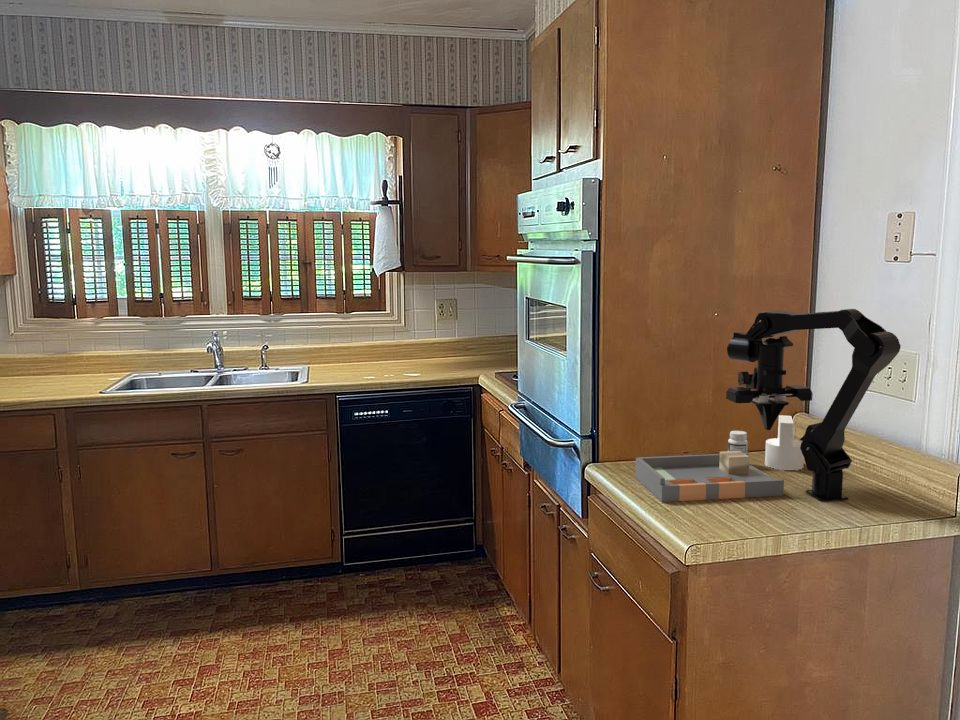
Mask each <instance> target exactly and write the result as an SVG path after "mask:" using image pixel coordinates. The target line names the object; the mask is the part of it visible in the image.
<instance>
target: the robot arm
mask: <svg viewBox="0 0 960 720" xmlns="http://www.w3.org/2000/svg"><path fill="white" fill-rule="evenodd" d="M819 329H822V330H823V329H839V330H840V331H841V332H842V334H843V335H844V338H845V340H846V341H847V343H849V345H851V346H852V347H853V351H852V355H851V369H850V370H849V373H848V374H847V376H846V378H845V380H843V381H844V382H843V383H842V385H841V387H840V389H839V390H838V392H837V394H836V396H835V397H834V400H833V401H832V403H831V405H830V407H829V409H828V411H827V413H826V414H825V416H824V418H823V419H822V421H821V422H818V423H814V424H813V423H812V424H809V425H808V426H807V427H806V429H805V432H804V434H803V436H802V437H800V438H799V441H801V442H802V443H801V445H800V450H801V451H802V454H803V456H804V462H805V467H806V470H807V471H810V472H812V480H811V481H812V483H811V489H805V493H807V494H808V495H810V496H812V497H813V498H815V499H817V500H818V501H821V502H828V501H845V500H849V497H848V496H847V495H845V494H843V482H844V472H843V470H844V469H847V470H848V469H849V468H850V466H851V464H852V462H853V460H852V458H851V457H850V456H849V454H848V453H847V452H846V450H845V449H844V448H843V446H844V444H845V441H846V440H845V439H846V438H845V430H846V427H847V426H848V425H849V422H850V421H851V419H852V417H853V415H854V414H855V413H856V412H855V411H856V410H857V409H858V408H859V405H860V403H861V402H862V400H863V397H864V396H865V395H866V392H868V390H869V387H870V386H871V384H872V382H873V380H874V379H875V377H876V376H877V375H878V374H880V372H882V371H883V370H884V369H885V368H886V367H887V366H888V365H889V364H890V363H892V361H893V360H894V359H895V358H896V357H897V355H898V354H899V353H900V350H901V346H902V345H901V344H900V340H899V338H898V336H896V334H894V333H893V332H891V331H887V330H886V329H885V328H883V326H881V325H880V324H878V323H876V322H875V321H873V320H871V319H870V318H868V317H867V316H865V315H864V314H863V313H862V312H861V311H860V310H858V309H855V308H847V309H846V308H845V309H840V310H835V311H834V310H832V311H821V312H819V311H818V312H806V313H805V312H803V313H800V312H794V311H789V310H782V309H781V310H779V309H778V310H768V311H761V312H759V313H757V315H756V317H755V320H754V322H753V323H752V325H751V326H750V328H749V329H748V331H747V332H746V333H745V332H743V331H737V332H733V335H732V337H731V339H730V340H729V342H728V345H727V347H726V353H727V356H728V358H729V359H731V360H734V361H741V362H748V363H755V362H757V363H756V364H757V365H756V367H755V366H754V369H753V373H751V374H750V372H749V371H740V372H738V377H737V382H738V387H729V388H728V389H727V390H726V394H725V395H726V397H725V399H726V400H728V401H730V402H733V403H735V404H753V405H755V406H756V408H757V410H758V412H759V415H760V419H761V420H762V424H763V428H764V430H765V431H770V430H771V429H772V427H773V426H774V424H775V422H776V420H777V419H778V418H779V415H780V413H782V411H783V409H785V407H786V406H789V405H790V403H789V402H788V401H787V398H797V399H798V400H799V402H803V401H804V402H807V401H813V391H812V389H811V388H810V387H807V386H803V385H800V384H794V385H793V384H792V385H790V384H789V385H786V386H785V387H783V385H784V384H783V383H784V381H783V380H784V376H785V375H787V370H786V369H784V365H785V364H784V362H785V361H784V360H785V359H784V358H785V348H789V347H790V348H791V347H793V346H794V343H793V342H792V341H791V340H790V339H789V338H788V336H787V335H786V334H790V333H793V332H796V331H800V330H801V331H804V330H819ZM781 335H782V336H781ZM783 335H784V336H783ZM775 336H779V337H778V338H774V337H775ZM763 339H764V340H763ZM739 386H741V387H739ZM744 386H745V387H744Z"/></svg>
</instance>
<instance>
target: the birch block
mask: <svg viewBox="0 0 960 720" xmlns="http://www.w3.org/2000/svg"><path fill="white" fill-rule="evenodd" d="M719 454H720V461H719V468H720V469H721V470H723V471H725V472H726V473H728V474H740V473H749V464H750V455H749V456H748V455H746V454H744V453H743V452H741V451H728V450H727V451H719Z"/></svg>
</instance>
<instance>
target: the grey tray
mask: <svg viewBox="0 0 960 720" xmlns="http://www.w3.org/2000/svg"><path fill="white" fill-rule="evenodd" d="M744 454H746V455H748V456H750V455H749V453H748V452H747V453H744ZM719 461H720V453H710V454H708V453H705V454H686V455H665V456H663V455H662V456H645V457H642V456H641V457H635V479H636V480H637V481H638V482H639V483H641V484H642V485H643V486H644V487H645V488H646V489H647V490H648V491H649V492H651V494H652V495H653V496H655V498H656V499H658V500H659V501H660V502H661V503H666V502H667V503H669V502H671V503H672V502H685V501H686V502H688V501H706V500H707V501H708V500H725V499H741V498H745V499H746V498H761V497H763V498H764V497H781V496H784V492H785V491H784V487H785V480H784V479H782V478H773V477H772V476H770V475H769V474H767V473H765V472H764V471H762V470H760V469H758V468H757V467H755V466H754V465H752V464H750V463H749V473H740V474H728V473H726V472H725V471H723V470H721V469H720V468H719Z"/></svg>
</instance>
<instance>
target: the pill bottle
mask: <svg viewBox="0 0 960 720" xmlns="http://www.w3.org/2000/svg"><path fill="white" fill-rule="evenodd" d="M747 434H748V433H747V432H746V431H742V430H731V431H730V432H729V438H728V440H727V451H741V452H743V453H748V445H749V444H748V443H749V442H748V440H747V437H748V435H747Z"/></svg>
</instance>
